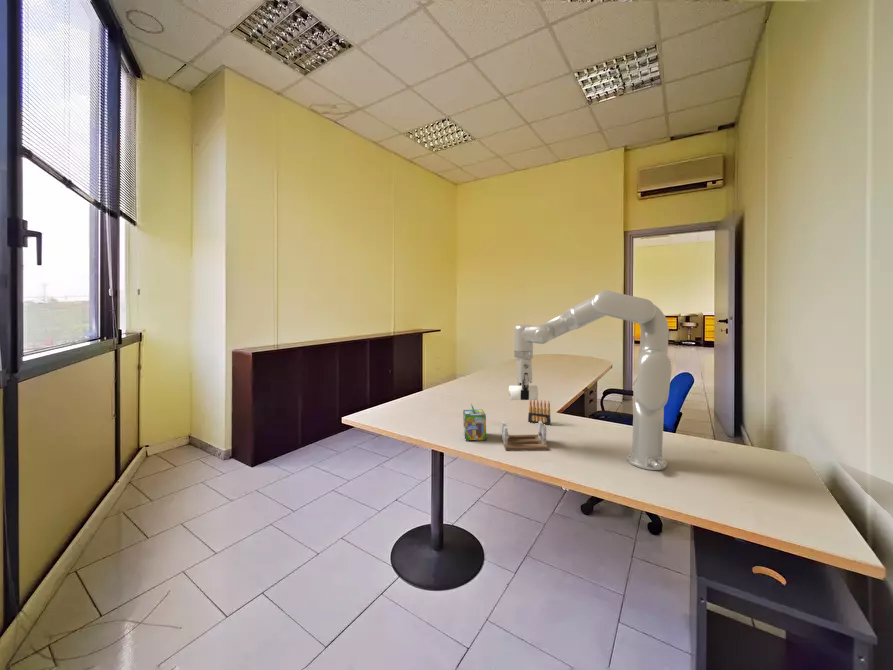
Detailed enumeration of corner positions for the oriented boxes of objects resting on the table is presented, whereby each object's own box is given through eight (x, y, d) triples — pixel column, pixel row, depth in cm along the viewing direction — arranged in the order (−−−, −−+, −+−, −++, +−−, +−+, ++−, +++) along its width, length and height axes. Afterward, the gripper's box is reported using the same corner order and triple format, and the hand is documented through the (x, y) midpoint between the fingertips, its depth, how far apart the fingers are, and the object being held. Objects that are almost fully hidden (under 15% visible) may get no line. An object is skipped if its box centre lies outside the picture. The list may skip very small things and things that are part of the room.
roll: (538, 401, 143) (538, 387, 142) (510, 401, 143) (510, 387, 142) (534, 398, 149) (535, 384, 148) (508, 398, 149) (508, 384, 148)
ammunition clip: (527, 422, 174) (528, 398, 173) (528, 421, 175) (529, 397, 174) (549, 425, 169) (550, 401, 168) (550, 424, 170) (551, 400, 169)
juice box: (486, 440, 151) (486, 407, 150) (465, 441, 151) (465, 408, 149) (483, 433, 160) (482, 401, 159) (463, 433, 160) (462, 402, 159)
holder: (548, 450, 140) (548, 430, 139) (505, 450, 140) (505, 430, 140) (539, 437, 154) (539, 419, 153) (500, 437, 154) (500, 419, 154)
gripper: (537, 357, 135) (537, 403, 137) (527, 351, 153) (527, 392, 154) (518, 357, 136) (517, 403, 137) (510, 351, 153) (510, 392, 154)
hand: (523, 397), depth 146 cm, fingers closed on roll, 6 cm apart
